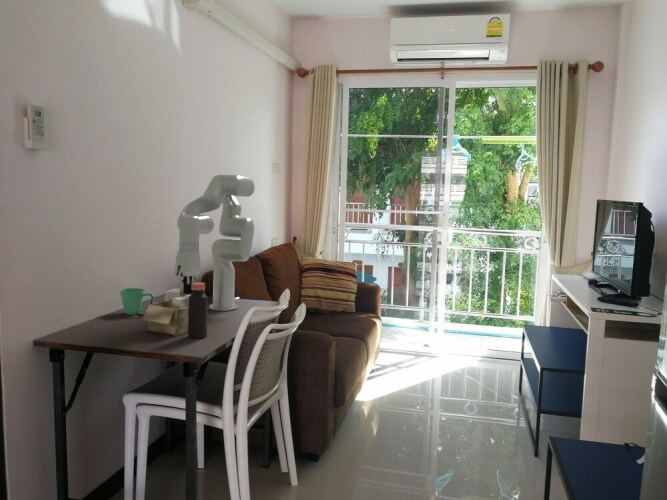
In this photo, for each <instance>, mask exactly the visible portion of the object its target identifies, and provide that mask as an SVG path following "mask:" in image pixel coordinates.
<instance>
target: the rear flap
mask: <svg viewBox="0 0 667 500" xmlns="http://www.w3.org/2000/svg"><path fill="white" fill-rule="evenodd" d="M183 285H184V284H183V283H182V282H179V289H180V297H181V296H186V295H190V294H184V293H183ZM205 291H206V290H205ZM205 291H204V293H205ZM205 294H206V293H205Z"/></svg>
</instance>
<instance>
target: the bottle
mask: <svg viewBox="0 0 667 500" xmlns="http://www.w3.org/2000/svg"><path fill="white" fill-rule="evenodd" d="M191 289H192V294H191V295H190V296H189V310H188V333H187V334H188V335H187V336H188V337H189V338H190V339H194V340H195V339H205V338H206V337H208V335H207V334H208V296H207V294H206V293H204V291H206V283H205V282H199V281H198V282H197V281H196V282H195V281H194V283H191Z"/></svg>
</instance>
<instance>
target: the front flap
mask: <svg viewBox="0 0 667 500" xmlns="http://www.w3.org/2000/svg"><path fill="white" fill-rule="evenodd" d="M148 305H149V306H148ZM148 305H147V306H148V308H147V310H145V314H144V315H143V317H142V320H144V321H147V322H148V321H153V322H158V323H163V324H168V325H169V322H170V320H171V317H172V315H173V312H174V310H175V309H172V308H166V307H161V306H155V305H150V303H149V304H148Z"/></svg>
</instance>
